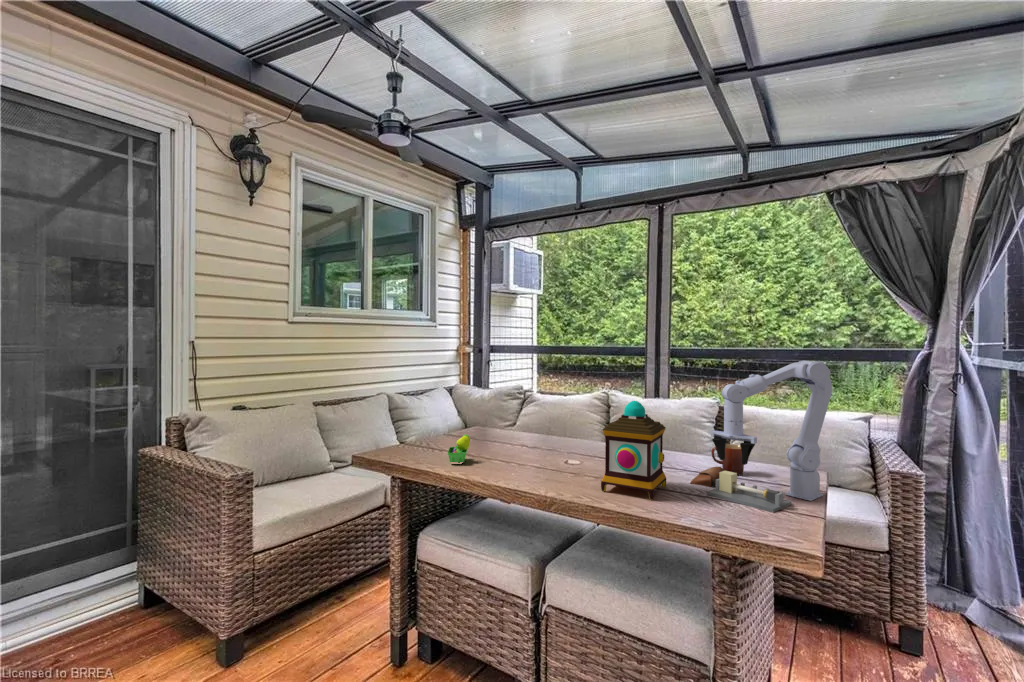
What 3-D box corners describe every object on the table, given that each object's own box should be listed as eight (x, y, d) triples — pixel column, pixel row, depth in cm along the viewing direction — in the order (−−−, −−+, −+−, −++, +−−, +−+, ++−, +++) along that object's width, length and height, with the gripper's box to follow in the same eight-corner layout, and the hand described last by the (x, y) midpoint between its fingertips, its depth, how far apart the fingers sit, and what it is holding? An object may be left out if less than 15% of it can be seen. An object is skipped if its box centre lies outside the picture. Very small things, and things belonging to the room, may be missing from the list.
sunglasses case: (700, 472, 184) (710, 458, 182) (717, 484, 181) (727, 470, 179) (689, 483, 169) (699, 468, 167) (707, 497, 166) (717, 482, 164)
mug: (744, 471, 186) (744, 445, 186) (747, 477, 177) (747, 449, 177) (710, 468, 190) (710, 442, 190) (712, 474, 181) (712, 447, 181)
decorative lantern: (656, 503, 148) (656, 405, 149) (595, 492, 159) (596, 401, 159) (671, 486, 165) (671, 399, 166) (615, 477, 176) (616, 396, 176)
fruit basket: (449, 458, 203) (449, 432, 203) (470, 458, 203) (470, 432, 203) (447, 465, 191) (447, 437, 191) (469, 465, 192) (469, 437, 192)
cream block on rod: (719, 490, 158) (719, 472, 158) (725, 488, 160) (725, 470, 160) (731, 493, 155) (731, 474, 155) (736, 491, 157) (736, 473, 157)
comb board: (706, 494, 157) (706, 480, 157) (725, 487, 164) (726, 474, 164) (773, 512, 140) (773, 497, 140) (791, 504, 148) (791, 490, 148)
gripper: (706, 418, 162) (706, 459, 162) (749, 424, 150) (749, 468, 150) (717, 417, 166) (717, 456, 166) (760, 422, 155) (759, 464, 155)
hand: (733, 461), depth 159 cm, fingers open, 7 cm apart
